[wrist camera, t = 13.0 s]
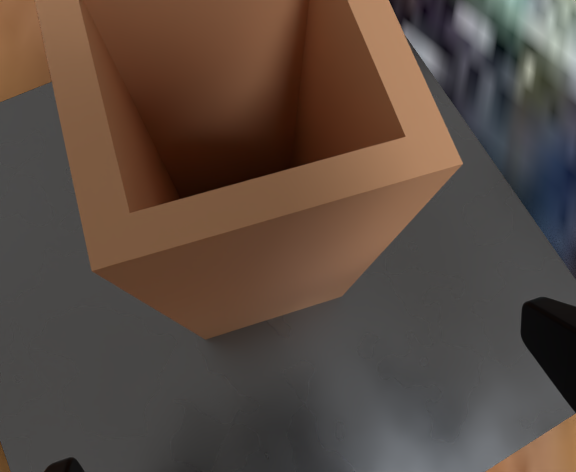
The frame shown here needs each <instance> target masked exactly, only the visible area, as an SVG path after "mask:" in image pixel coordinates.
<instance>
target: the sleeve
mask: <svg viewBox="0 0 576 472" xmlns="http://www.w3.org/2000/svg"><path fill="white" fill-rule="evenodd" d="M35 4H36V9H37V14H38V19H39V23H40V28H41V33H42V38H43V42H44V47H45V52H46V57H47V61H48V66H49V71H50V76H51V80H52V85H53V90H54V95H55V99H56V104H57V109H58V114H59V118H60V123H61V128H62V133H63V137H64V142H65V147H66V152H67V157H68V161H69V166H70V171H71V176H72V180H73V185H74V190H75V195H76V199H77V204H78V209H79V214H80V218H81V223H82V228H83V233H84V237H85V242H86V247H87V252H88V256H89V261H90V266H91V271H92V272H94V273H96V274H97V275H99V276H101V277H102V278H104V279H106V280H107V281H109V282H111V283H112V284H114V285H116V286H117V287H119V288H120V289H122V290H124V291H125V292H127V293H129V294H130V295H132V296H134V297H135V298H137V299H139V300H140V301H142V302H144V303H145V304H147V305H149V306H150V307H152V308H154V309H155V310H157V311H159V312H160V313H162V314H164V315H165V316H167V317H169V318H170V319H172V320H174V321H175V322H177V323H179V324H180V325H182V326H184V327H185V328H187V329H189V330H190V331H192V332H194V333H195V334H197V335H198V336H200V337H202V338H203V339H205V340H206V339H209V338H212V337H215V336H218V335H222V334H225V333H228V332H231V331H234V330H237V329H241V328H244V327H247V326H250V325H253V324H256V323H259V322H263V321H266V320H269V319H272V318H275V317H278V316H282V315H285V314H288V313H291V312H294V311H297V310H301V309H304V308H307V307H310V306H313V305H316V304H320V303H323V302H326V301H329V300H332V299H335V298H339V297H342V296H343V295H344V293H345V292H346V291H347V290H348V289H349V288H350V287H351V286H352V285H353V284H354V283H355V281H356V280H357V279H358V278H359V277H360V276H361V275H362V274H363V273H364V272H365V271H366V269H367V268H368V267H369V266H370V265H371V264H372V263H373V262H374V261H375V260H376V258H377V257H378V256H379V255H380V254H381V253H382V252H383V251H384V250H385V249H386V248H387V246H388V245H389V244H390V243H391V242H392V241H393V240H394V239H395V238H396V237H397V236H398V234H399V233H400V232H401V231H402V230H403V229H404V228H405V227H406V226H407V225H408V223H409V222H410V221H411V220H412V219H413V218H414V217H415V216H416V215H417V214H418V213H419V211H420V210H421V209H422V208H423V207H424V206H425V205H426V204H427V203H428V202H429V201H430V199H431V198H432V197H433V196H434V195H435V194H436V193H437V192H438V191H439V190H440V188H441V187H442V186H443V185H444V184H445V183H446V182H447V181H448V180H449V179H450V178H451V176H452V175H453V174H454V173H455V172H456V171H457V170H458V169H459V168H460V167H461V166H462V164H463V162H462V160H461V158H460V156H459V153H458V151H457V149H456V147H455V145H454V143H453V140H452V138H451V136H450V134H449V132H448V129H447V127H446V125H445V123H444V121H443V118H442V116H441V114H440V112H439V110H438V107H437V105H436V103H435V101H434V99H433V96H432V94H431V92H430V90H429V88H428V85H427V83H426V81H425V79H424V77H423V75H422V72H421V70H420V68H419V66H418V64H417V61H416V59H415V57H414V55H413V53H412V50H411V48H410V46H409V44H408V42H407V39H406V37H405V35H404V33H403V31H402V28H401V26H400V24H399V22H398V20H397V17H396V15H395V13H394V11H393V9H392V7H391V4H390V2H389V0H35Z"/></svg>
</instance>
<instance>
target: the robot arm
mask: <svg viewBox="0 0 576 472" xmlns="http://www.w3.org/2000/svg"><path fill="white" fill-rule="evenodd" d="M520 333H521V338H522V341H523V343H524V344H525V346H526V347H527V349H528V350H529V351H530V353H531V354H532V355H533V357H534V358H535V360H536V361H537V362H538V364H539V365H540V366H541V368H542V369H543V370H544V372H545V373H546V375H547V376H548V377H549V379H550V380H551V381H552V383H553V384H554V386H555V387H556V388H557V390H558V391H559V392H560V394H561V395H562V396H563V398H564V399H565V400H566V402H567V403H568V404H569V406H570V407H571V408H572V409H573V410H574V412H575V413H576V306H573V305H570V304H567V303H563V302H560V301H557V300H554V299H551V298H547V297H538V298H535V299H532V300H529V301H526V302H525V303H524V304H523V306H522V312H521V329H520ZM44 472H85V471H84V470H83V468H82V467H81V465H80V464H79V462H78V461H77V459H75V458H74V457H69V458H66V459H63V460H60V461H57V462H54V463H52V464H50V465H49V466H48V467H47V468H46V469H45V471H44Z"/></svg>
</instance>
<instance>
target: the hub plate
mask: <svg viewBox="0 0 576 472" xmlns="http://www.w3.org/2000/svg"><path fill="white" fill-rule="evenodd" d="M405 37H406V36H405ZM406 39H407V38H406ZM407 42H408V44H409V46H410V48H411V50H412V53H413V55H414V57H415V59H416V61H417V64H418V66H419V68H420V70H421V72H422V75H423V77H424V79H425V81H426V83H427V85H428V88H429V90H430V92H431V94H432V96H433V99H434V101H435V103H436V105H437V107H438V110H439V112H440V114H441V116H442V118H443V121H444V123H445V125H446V127H447V129H448V132H449V134H450V136H451V138H452V140H453V143H454V145H455V147H456V149H457V151H458V153H459V156H460V158H461V160H462V162H463V164H462V166H461V167H460V168H459V169H458V170H457V171H456V172H455V173H454V174H453V175H452V176H451V178H450V179H449V180H448V181H447V182H446V183H445V184H444V185H443V186H442V187H441V188H440V190H439V191H438V192H437V193H436V194H435V195H434V196H433V197H432V198H431V199H430V201H429V202H428V203H427V204H426V205H425V206H424V207H423V208H422V209H421V210H420V211H419V213H418V214H417V215H416V216H415V217H414V218H413V219H412V220H411V221H410V222H409V223H408V225H407V226H406V227H405V228H404V229H403V230H402V231H401V232H400V233H399V234H398V236H397V237H396V238H395V239H394V240H393V241H392V242H391V243H390V244H389V245H388V246H387V248H386V249H385V250H384V251H383V252H382V253H381V254H380V255H379V256H378V257H377V258H376V260H375V261H374V262H373V263H372V264H371V265H370V266H369V267H368V268H367V269H366V271H365V272H364V273H363V274H362V275H361V276H360V277H359V278H358V279H357V280H356V281H355V283H354V284H353V285H352V286H351V287H350V288H349V289H348V290H347V291H346V292H345V293H344V295H343V296H342V297H339V298H335V299H332V300H329V301H326V302H323V303H320V304H316V305H313V306H310V307H307V308H304V309H301V310H297V311H294V312H291V313H288V314H285V315H282V316H278V317H275V318H272V319H269V320H266V321H263V322H259V323H256V324H253V325H250V326H247V327H244V328H241V329H237V330H234V331H231V332H228V333H225V334H222V335H218V336H215V337H212V338H209V339H206V340H205V339H203V338H202V337H200V336H198V335H197V334H195V333H194V332H192V331H190V330H189V329H187V328H185V327H184V326H182V325H180V324H179V323H177V322H175V321H174V320H172V319H170V318H169V317H167V316H165V315H164V314H162V313H160V312H159V311H157V310H155V309H154V308H152V307H150V306H149V305H147V304H145V303H144V302H142V301H140V300H139V299H137V298H135V297H134V296H132V295H130V294H129V293H127V292H125V291H124V290H122V289H120V288H119V287H117V286H116V285H114V284H112V283H111V282H109V281H107V280H106V279H104V278H102V277H101V276H99V275H97V274H96V273H94V272H92V271H91V266H90V261H89V256H88V252H87V247H86V242H85V237H84V233H83V228H82V223H81V218H80V214H79V209H78V204H77V199H76V195H75V190H74V185H73V180H72V176H71V171H70V166H69V161H68V157H67V152H66V147H65V142H64V137H63V133H62V128H61V123H60V118H59V114H58V109H57V104H56V99H55V95H54V90H53V85H52V82H50V83H48V84H45V85H43V86H40V87H38V88H35V89H33V90H30V91H28V92H25V93H23V94H20V95H18V96H15V97H13V98H10V99H8V100H5V101H3V102H0V442H1V445H2V447H3V450H4V453H5V456H6V459H7V462H8V465H9V468H10V471H11V472H44V471H45V469H46V468H47V467H48V466H49V465H50V464H52V463H54V462H57V461H60V460H63V459H66V458H69V457H74V458H75V459H77V461H78V462H79V464H80V465H81V467H82V468H83V470H84V471H85V472H485V471H487V470H488V469H490V468H491V467H493V466H494V465H496V464H497V463H499V462H501V461H502V460H504V459H505V458H507V457H508V456H510V455H511V454H513V453H515V452H516V451H518V450H519V449H521V448H522V447H524V446H525V445H527V444H529V443H530V442H532V441H533V440H535V439H536V438H538V437H539V436H541V435H543V434H544V433H546V432H547V431H549V430H550V429H552V428H553V427H555V426H557V425H558V424H560V423H561V422H563V421H564V420H566V419H567V418H569V417H571V416H572V415H574V414H575V412H574V410H573V409H572V408H571V407H570V406H569V404H568V403H567V402H566V400H565V399H564V398H563V396H562V395H561V394H560V392H559V391H558V390H557V388H556V387H555V386H554V384H553V383H552V381H551V380H550V379H549V377H548V376H547V375H546V373H545V372H544V370H543V369H542V368H541V366H540V365H539V364H538V362H537V361H536V360H535V358H534V357H533V355H532V354H531V353H530V351H529V350H528V349H527V347H526V346H525V344H524V343H523V341H522V338H521V333H520V329H521V312H522V306H523V304H524V303H525V302H526V301H529V300H532V299H535V298H538V297H547V298H551V299H554V300H557V301H560V302H563V303H567V304H570V305H573V306H576V280H575V278H574V277H573V275H572V274H571V273H570V271H569V270H568V268H567V267H566V265H565V264H564V263H563V261H562V260H561V258H560V257H559V255H558V254H557V252H556V251H555V250H554V248H553V247H552V245H551V244H550V242H549V241H548V240H547V238H546V237H545V235H544V234H543V232H542V231H541V230H540V228H539V227H538V225H537V224H536V222H535V221H534V220H533V218H532V217H531V215H530V214H529V212H528V211H527V209H526V208H525V207H524V205H523V204H522V202H521V201H520V199H519V198H518V197H517V195H516V194H515V192H514V191H513V189H512V188H511V187H510V185H509V184H508V182H507V181H506V179H505V178H504V177H503V175H502V174H501V172H500V171H499V169H498V168H497V167H496V165H495V164H494V162H493V161H492V159H491V158H490V156H489V155H488V154H487V152H486V151H485V149H484V148H483V146H482V145H481V144H480V142H479V141H478V139H477V138H476V136H475V135H474V134H473V132H472V131H471V129H470V128H469V126H468V125H467V124H466V122H465V121H464V119H463V118H462V116H461V115H460V113H459V112H458V111H457V109H456V108H455V106H454V105H453V103H452V102H451V101H450V99H449V98H448V96H447V95H446V93H445V92H444V91H443V89H442V88H441V86H440V85H439V83H438V82H437V81H436V79H435V78H434V76H433V75H432V73H431V72H430V71H429V69H428V68H427V66H426V65H425V63H424V62H423V60H422V59H421V58H420V56H419V55H418V53H417V52H416V50H415V49H414V48H413V46H412V45H411V43H410V42H409V40H408V39H407Z"/></svg>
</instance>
